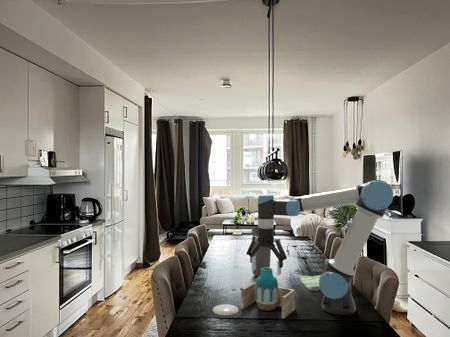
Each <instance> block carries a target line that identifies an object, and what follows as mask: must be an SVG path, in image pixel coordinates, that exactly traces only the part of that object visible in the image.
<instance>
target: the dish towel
mask: <svg viewBox="0 0 450 337" xmlns="http://www.w3.org/2000/svg"><path fill="white" fill-rule="evenodd" d="M321 275H322V274H318V275H313V276H311V275H299V277H298V280H299V281H301V282H300V283H302V284H303V285H304V286H305V288H307V290H309V291H311V292H313V291H314V292H316V291H317V292H318V291H319V290H320V291H321V289H320V287H319V279H320V277H321Z"/></svg>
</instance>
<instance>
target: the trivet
mask: <svg viewBox="0 0 450 337" xmlns="http://www.w3.org/2000/svg"><path fill="white" fill-rule="evenodd" d="M212 313H213V314H214V315H217V316H233V315H236V314H238V313H239V308H238V306H237V305H233V304H228V303H227V304H226V303H225V304H219V305H216V306H214V307H213V308H212Z"/></svg>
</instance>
